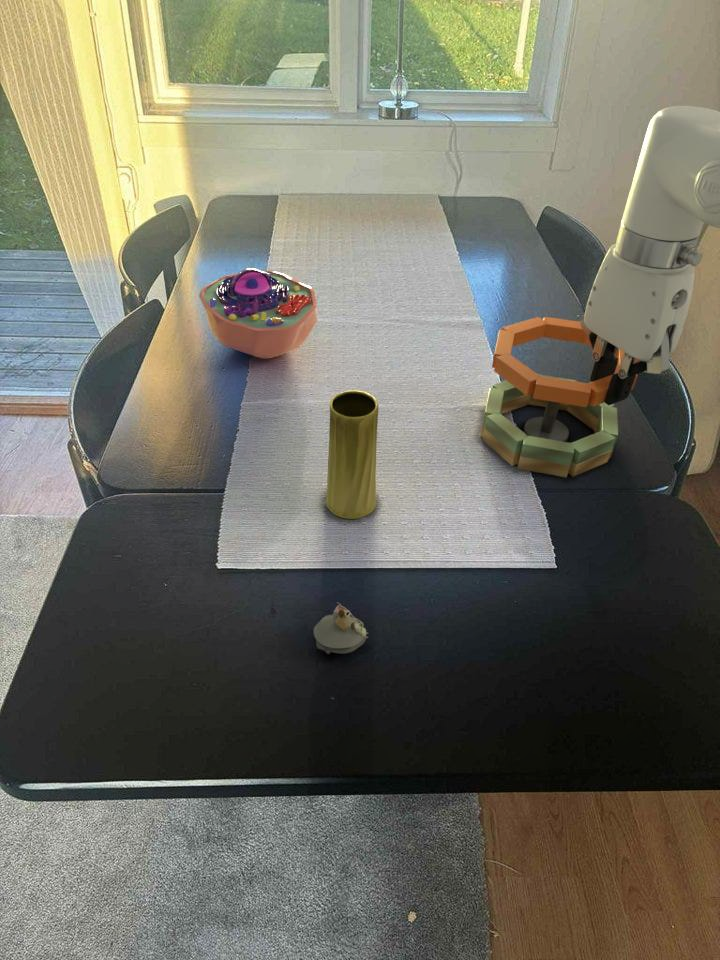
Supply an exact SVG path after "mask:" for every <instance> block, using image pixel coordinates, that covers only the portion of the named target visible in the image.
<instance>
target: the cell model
mask: <svg viewBox="0 0 720 960" xmlns="http://www.w3.org/2000/svg"><path fill="white" fill-rule="evenodd" d="M315 292H316V291H315V290H314V289H313V287H312V286H310V285H307V284H305V283H303V282H300V281H298V280H296V279H294V278H292V277H291V276H289V275H287V274H285V273H281V272H277V271H272V270H263V269H257V268H252V267H251V268H250V267H249V268H244V269H242V270H240V271H239V272H236V273H232V274H226V275H224V276H221V277H219V278H217V279H215V280H214V281H212V282H211V283H209V284H207V285H205V286H203V287H202V289H201V290H200V292H199V294H198V295H199V296H198V297H199V300H200V301H201V304H202V306H203V308H204V311H205V316H206V322H207V324H208V327H209V329H210V331H211V333H212V335H213V336H214V338H215V339H216V340H217V341H218V342H219V344H221V345H222V346H224V347H226V348H229V349H232V350H235V351H238V352H240V353H243V354H247V355H250V356H253V357H255V358H258V359H264V360H265V359H266V360H267V359H273V358H277V357H280V356H283V355H285V354H288V353H291V352H293V351H296V350H297V349H299V348H300V347H301V346H302V345H303V344H304V343H305V342H306V340H307V339H308V337H309V336H310V334H311V332H312V331H313V330H314V328H316V325H317V323H318V309H317V300H316V299H317V298H316V293H315Z"/></svg>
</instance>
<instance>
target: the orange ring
mask: <svg viewBox="0 0 720 960" xmlns="http://www.w3.org/2000/svg"><path fill="white" fill-rule="evenodd" d="M580 322H581V321H576V320H570V319H562V318H555V317H549V316H544V317H543V318H541V317H539V316H535V317H532V318H530V319H529V318H528V319H526V320H523V321H520V322H516V323H513V324H510V325H506V326H503V327H502V328H501V329H499V330H498V335H497V340H496V344H495V349H494V353H493V358H492V363H491V364H492V366H491V368H493V372H495V373H496V374H497V375H498V376H500V377H501V378H503V380H504V381H506V380H507V381H508V382H509V383H511V384H512V385H513V386H514V387H516V388H517V389H518V390H520V391H521V392H522V393H524V394H525V395H526V396H528V395H531V394H533V399H539V400H546V401H552V402H558V403H564V404H570V405H576V406H582V407H587V404H588V403H589V404H590V405H591V406H596V405H599V404H601V403H604V402H605V398H606V394H607V391H608V387H609V384H610V381H611V378H612V376H613V375H614V374H616V373H618V370H619V367H620V364H621V361H622V357H623V354H624V351H622V350H621V349H619V348H618V349H617V352H616V355H615V356H614V357H617V358H618V363H617V366H616V370H615V373H614V374H613V375H610V376H607V377H605V378H602V379H599V380H596V381H593V382H590V381H589V382H582V381H581V382H580V381H577V382H575V381H569V380H563V379H556V378H550V377H544V376H540V375H541V374H539V373H537V372H536V371H534V370H533V369H532V368H530V367H529V366H527V365H526V364H525V363H523V362H521V361H520V360H519V359H518V358H516V357H515V356H513V355H512V353H513V352H512V350H513V347H516V346H519V345H524V344H526V343H530V342H533V341H536V340H538V339H539V340H540V339H542V338H547V339H552V340H553V339H554V340H560V341H566V342H573V343H580V344H585V345H587V346H588V347H589V348H591V349H593V348H592V345H591V343H590V340H589V336H588V335H587V334H586V333H585V331H584V330H583V329H582V327H581V326H580ZM538 374H539V375H538ZM637 379H638V374H636V376H635V379H634V382H633V385H632V388H631V391H632V390H634V387H635V384H636V382H637ZM631 391H630V393H631Z"/></svg>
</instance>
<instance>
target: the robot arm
mask: <svg viewBox="0 0 720 960" xmlns="http://www.w3.org/2000/svg"><path fill="white" fill-rule="evenodd" d="M639 154H640V155H639V158H638V161H637V164H636V165H637V166H636V169H635V172H634V175H633V179H632V183H631V187H630V190H629V193H628V196H627V200H626V204H625V206H624V207H625V208H624V211H623V214H622V218H621V222H620V226H619V229H618V232H617V236H616V240H615V243H613V244H612V245H611V246H610V247H609V249H608V250H607V252H606V254H605V256H604V258H603V260H602V262H601V264H600V267H599V269H598V271H597V274H596V276H595V279H594V281H593V284H592V286H591V290H590V292H589V293H590V294H589V296H588V299H587V303H586V306H585V312H584V316H583V317H582V319H581V320H580V321H579V322H580V326H581V327H582V329H583V330H584V331H585V333H586V334H587V335H588V336H589V340H590V343H591V345H592V348H591V349H592V352H591V359H592V360H593V361H594V363H593V367H592V370H591V374H590V377H589V383H590V382H593V381H596V380H599V379H602V378H605V377H607V376H610V375H613V374H614V375H613V376H612V378H611V381H610V384H609V387H608V391H607V394H606V398H605V403H606V404H607V405H612V404H614V405H615V404H616V403H620V402H622V401H625V400H626V399H627V398H628V397H629V396H630V394H631V392H630V391H632V390H631V388H632V385H633V382H634V379H635V376H636V374H637V375H639V374H641V373H646V374H653V375H662V374H665V373H666V372H667V373H668V372H669V371H670V369H671V368H670V364H671V363H670V354H671V353H674V352H675V350H677V348H678V344H679V342H680V339H681V338H682V337H681V336H682V334H683V330H684V327H685V324H686V320H687V316H688V313H689V309H690V306H691V305H690V304H691V301H692V296H693V292H694V291H693V290H694V285H695V284H694V283H695V274H696V273H695V271H696V268H695V267H697V266H698V265H699V264H700V263H701V261H702V260H703V252H700V251H698V249H697V246H698V243H699V240H700V239H699V237H700V235H701V231H702V229H703V225H704V224H705V225H708V226H710V227H714V228H716V229H720V111H718V110H715V109H711V108H707V107H701V106H694V105H693V106H692V105H675V106H668V107H665V108H663V109H660V110H659V111H658V112H656V114H654V115H653V117H652V118H651V119H650V122H649V124H648V126H647V130H646V133H645V136H644V140H643V143H642V147H641V151H640V153H639ZM618 348H619V349H621V350H622V351H624V354H623V357H622V361H621V364H620V367H619V370H618V373H616V374H615V370H616V366H617V363H618V358H617V357H614V356H615V355H616V352H617V349H618Z"/></svg>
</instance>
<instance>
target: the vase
mask: <svg viewBox="0 0 720 960" xmlns="http://www.w3.org/2000/svg"><path fill="white" fill-rule="evenodd" d="M378 419H379V402H378V400H377V399H376V398H375V397H374V396H373V395H372V394H370V393H368V392H366V391H363V390H362V391H360V390H345V391H342V392H340V393H338V394H335V395H334V396H333V397H332V398H331V399H330V401H329V435H328V436H329V437H328V454H327V455H328V457H327V478H326V479H327V480H326V495H325V505H326V507H327V509H328V510H329V511H330V512H331V513H332V514H333V515H334V516H337V517H338V518H341V519H347V520H356V519H361V518H364V517H366V516H368V515H370V514H371V513H372V512H374V510H375V508H377V507H376V506H377V496H376V494H377V492H376V491H377V480H376V477H377V475H376V474H377V473H376V471H377V443H378V421H379V420H378Z"/></svg>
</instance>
